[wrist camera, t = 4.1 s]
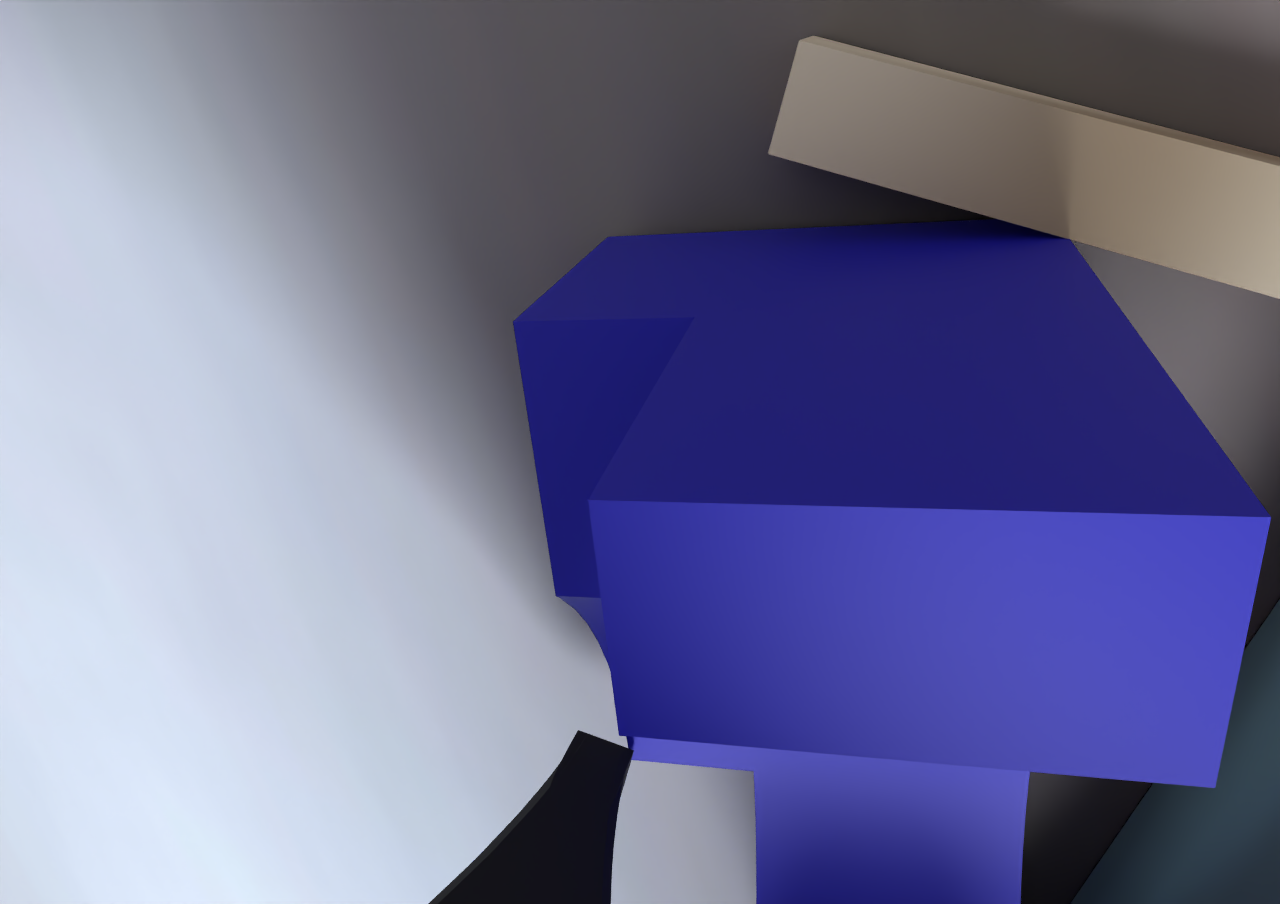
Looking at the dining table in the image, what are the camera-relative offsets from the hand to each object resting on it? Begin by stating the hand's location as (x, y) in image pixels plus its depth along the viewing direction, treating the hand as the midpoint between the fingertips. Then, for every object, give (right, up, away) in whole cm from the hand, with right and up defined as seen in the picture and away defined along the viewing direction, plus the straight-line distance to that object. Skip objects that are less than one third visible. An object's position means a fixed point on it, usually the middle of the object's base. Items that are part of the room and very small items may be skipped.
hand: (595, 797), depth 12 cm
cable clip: (+3, +1, +1) cm, 3 cm away
